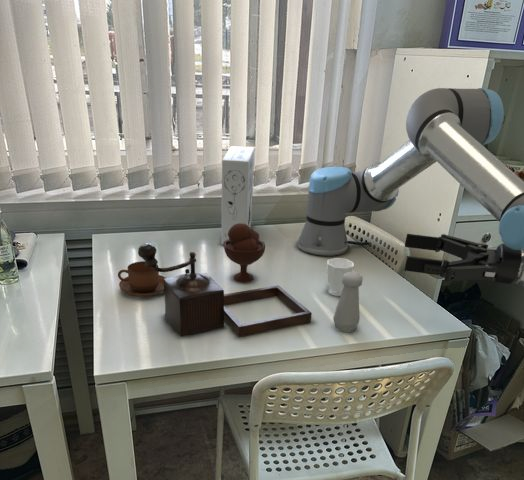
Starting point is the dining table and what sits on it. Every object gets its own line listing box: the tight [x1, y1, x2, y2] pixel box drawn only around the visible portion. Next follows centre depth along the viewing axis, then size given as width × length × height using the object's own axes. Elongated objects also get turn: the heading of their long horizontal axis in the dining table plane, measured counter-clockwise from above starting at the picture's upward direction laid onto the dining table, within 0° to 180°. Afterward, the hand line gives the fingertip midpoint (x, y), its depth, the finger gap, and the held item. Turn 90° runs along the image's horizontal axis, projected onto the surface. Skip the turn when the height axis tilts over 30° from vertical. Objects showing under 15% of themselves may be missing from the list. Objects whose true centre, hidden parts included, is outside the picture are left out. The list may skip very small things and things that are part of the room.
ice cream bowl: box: [223, 223, 266, 284], centre depth 133 cm, size 11×11×15 cm
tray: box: [224, 285, 313, 338], centre depth 119 cm, size 18×16×2 cm
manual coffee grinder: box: [137, 242, 225, 337], centre depth 110 cm, size 16×11×18 cm
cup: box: [326, 257, 355, 297], centre depth 131 cm, size 7×10×8 cm
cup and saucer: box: [117, 260, 167, 297], centre depth 127 cm, size 12×12×6 cm
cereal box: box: [220, 145, 255, 246], centre depth 161 cm, size 22×8×25 cm, turn 177°
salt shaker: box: [332, 271, 363, 333], centre depth 113 cm, size 6×6×13 cm
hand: (405, 251), depth 105 cm, fingers open, 13 cm apart
